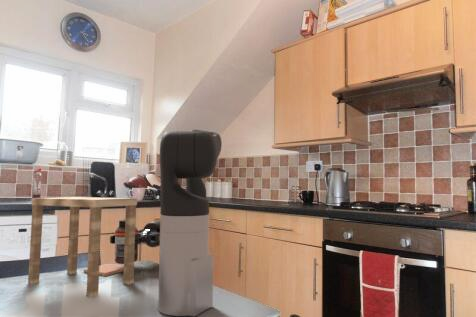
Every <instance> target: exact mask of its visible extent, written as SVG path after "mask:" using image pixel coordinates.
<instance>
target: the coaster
mask: <svg viewBox="0 0 476 317" xmlns="http://www.w3.org/2000/svg"><path fill="white" fill-rule="evenodd" d="M87 270H88V268H85V269H83V273H85V274H87ZM122 272H124V265H123V264H114V263H105V264H101V265H100V264H99V276H101V275H102V276H103V277H107V276H111V275H114V274H118V273H122Z"/></svg>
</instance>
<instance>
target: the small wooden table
mask: <svg viewBox="0 0 476 317" xmlns="http://www.w3.org/2000/svg"><path fill="white" fill-rule="evenodd" d="M30 204H31V205H30V206H32V207H31V208H32V211H31V227H30V242H29V243H30V245H29V246H30V247H29V263H28V276H27V277H28V278H27V280H28V281H27V283H28V285H34V284H39V283H40V271H41V270H40V269H41V252H42V236H43V235H42V234H43V216H44V215H43V214H44V206H48V207H49V206H50V207H52V206H54V207H69V225H68V226H69V228H68V243H67V244H68V248H67V267H66V268H67V270H66V273H67V275H75V274H77V271H78V255H79V254H78V249H79V248H78V247H79V246H78V245H79V230H80V228H79V226H80V225H79V224H80V208H89V225H88V227H89V228H88V230H89V232H88V251H87V269H88V270H87V273H86V275H87V276H86V297H89V298H93V297H96V296H99V284H100V282H99V281H100V275H99V266H100V263H101V262H100V261H101V260H100V257H101V234H102V208H105V207H106V208H107V207H108V208H109V207H125V218H124V219H125V247H124V264H123V266H124V271H123V278H122V279H123V285H128V286H129V285H132V284H134V278H135V277H134V275H135V262H134V249H135V227H136V216H137V215H136V213H137V211H136V209H137V205H138V198H137V197H98V196H97V197H93V196H92V197H90V196H89V197H88V196H87V197H86V196H82V197H81V196H70V197H69V196H65V197H64V196H63V197H32V198H31V202H30Z"/></svg>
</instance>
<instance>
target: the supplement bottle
mask: <svg viewBox="0 0 476 317" xmlns="http://www.w3.org/2000/svg"><path fill="white" fill-rule="evenodd" d="M138 229H139V228H138V227H136V226H135V236H137V235H138ZM114 232H115V233H114V235H115V243H114V262H115V263H116V264H117V265H124V247H125V218H123V219H119V221H118V227H117V228H116V229H115V231H114ZM138 245H139V244H136V245H135V249H134V263H135V262H137V261H139V260H138V259H139V258H138V256H139V255H138V254H139V253H138V252H139V246H138Z"/></svg>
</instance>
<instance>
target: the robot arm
mask: <svg viewBox="0 0 476 317" xmlns="http://www.w3.org/2000/svg"><path fill="white" fill-rule="evenodd" d="M221 150H222V137H221V136H220V134H219V133H218V132H213V131H206V130H201V129H191V130H181V131H179V130H171V131H168V130H167V131H166V132H164V133H163V135H162V136H161V139H160V144H159V170H160V172H159V174H160V216H159V220H157V221H156V220H155V221H150V222H148V223H147V224H145V225H144V227H143V228H137V229H138V235H137V236H135V245H136V244H138V245H146V246H147V247H149V248H157V247H159V252H158V253H159V257H158V259H159V260H158V303H157V305H158V307H157V309H158V311H159V312H160V313H161V314H164V315H167V316H173V317H186V316H190V317H196V316H199V314H201V313H203V312H205V311H206V310H208V309H210V308H212V307H213V306H214V300H213V299H214V298H213V295H214V279H213V278H214V256H213V254H211V253H210V250H209V249H210V244H209V243H210V240H209V239H210V202H209V200H208V199H207V188H206V186H205V183H204V181H203V179H207V178H209V177H211V176H213V174H214V172H215V170H216V166H217V162H218V158H219V156H220V155H221ZM180 179H185V182H186V184H185V185H186V186H185V188H186V189H185V188H183V187H182V186H181V185H180V181H179V180H180ZM109 238H110V239H109V243H110V244H113V245H115V234H113V235H110V237H109Z"/></svg>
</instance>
